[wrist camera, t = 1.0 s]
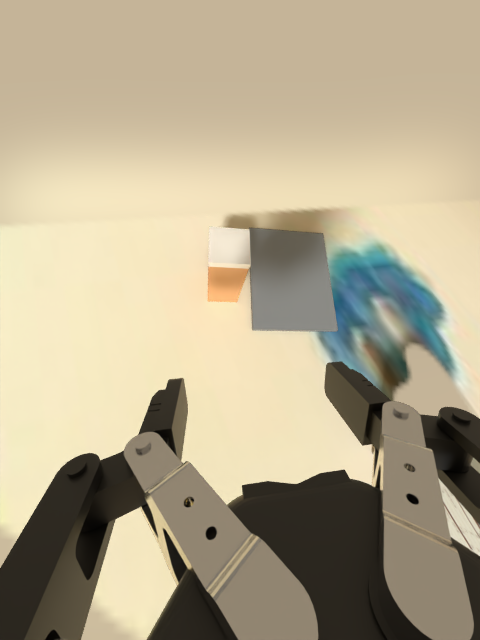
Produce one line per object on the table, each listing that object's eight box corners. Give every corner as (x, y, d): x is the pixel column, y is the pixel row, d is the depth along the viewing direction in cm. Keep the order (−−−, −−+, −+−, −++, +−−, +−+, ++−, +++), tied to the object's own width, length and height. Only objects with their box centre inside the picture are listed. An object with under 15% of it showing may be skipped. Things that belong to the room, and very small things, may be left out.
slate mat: (252, 330, 31) (253, 329, 31) (248, 230, 36) (249, 227, 35) (335, 331, 33) (337, 330, 32) (321, 236, 38) (323, 233, 37)
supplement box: (410, 421, 31) (542, 439, 19) (446, 479, 29) (614, 538, 17) (368, 451, 29) (485, 492, 17) (404, 514, 27) (560, 609, 15)
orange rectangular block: (207, 301, 32) (208, 262, 22) (207, 274, 33) (209, 226, 23) (237, 302, 32) (250, 264, 23) (236, 275, 33) (249, 229, 24)
